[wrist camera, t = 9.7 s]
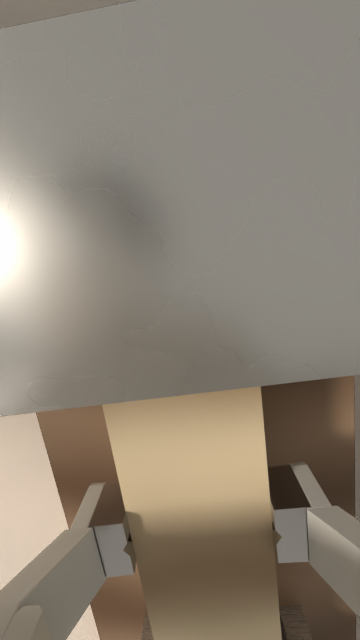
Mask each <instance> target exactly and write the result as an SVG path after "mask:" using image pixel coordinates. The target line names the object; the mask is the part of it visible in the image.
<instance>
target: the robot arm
mask: <svg viewBox="0 0 360 640" xmlns="http://www.w3.org/2000/svg"><path fill="white" fill-rule="evenodd" d="M267 468H268V480H269V492H270V508H271V518H272V528H273V531H272V532H273V542H274V550H275V554H276V557H277V560H278V563H292V562H309V564H310V565H311V566H312V567H313V568H314V569H315V570H316V571H317V572H318V573H319V575H320V576H321V577H322V578H323V579H324V580H325V581H326V582H327V583H328V584H329V585H330V587H331V588H332V589H333V590H334V591H335V592H336V593H337V594H338V595H339V596H340V597H341V598H342V600H343V601H344V602H345V603H346V604H347V605H348V606H349V607H350V608H351V609H352V610H353V612H354V613H355V614H356V615H357V616H358V617H359V618H360V521H359V520H358V519H356V518H355V517H353V516H352V515H350V514H349V513H347V512H346V511H344V510H343V509H341V508H340V507H338V506H332V505H331V504H330V502H329V500H328V499H327V497H326V495H325V494H324V492H323V490H322V489H321V487H320V485H319V484H318V482H317V480H316V479H315V477H314V475H313V474H312V472H311V470H310V469H309V467H308V465H307V464H306V463H305V462H299V463H291V464H284V465H275V466H267ZM136 562H137V559H136V555H135V550H134V545H133V542H132V539H131V534H130V527H129V523H128V519H127V515H126V511H125V507H124V503H123V498H122V493H121V489H120V484H119V481H109V482H101V483H92V484H91V485H90V486H89V487H88V490H87V492H86V494H85V496H84V499H83V501H82V503H81V505H80V508H79V510H78V512H77V514H76V517H75V519H74V521H73V523H72V526H71V528H70V529H69V530H65V531H64V532H62V533H61V534H60V535H59V536H58V537H57V538H56V539H55V540H54V541H53V542H52V543H51V544H50V545H49V546H47V547H46V548H45V549H44V550H43V551H42V552H41V553H40V554H39V555H38V556H37V557H36V558H35V559H34V560H33V561H31V562H30V563H29V564H28V565H27V566H26V567H25V568H24V569H23V570H22V571H21V572H20V573H19V574H18V575H16V576H15V577H14V578H13V579H12V580H11V581H10V582H9V583H8V584H7V585H6V586H5V587H4V588H3V589H2V590H0V640H66V639H67V637H68V636H69V634H70V633H71V631H72V630H73V628H74V627H75V625H76V624H77V622H78V621H79V619H80V618H81V616H82V615H83V613H84V612H85V610H86V609H87V607H88V606H89V604H90V603H91V601H92V600H93V598H94V597H95V595H96V594H97V592H98V591H99V589H100V588H101V586H102V585H103V583H104V582H105V580H106V578H107V577H116V576H125V575H133V574H134V573H135V567H136Z"/></svg>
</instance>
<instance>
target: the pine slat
mask: <svg viewBox="0 0 360 640" xmlns="http://www.w3.org/2000/svg"><path fill="white" fill-rule="evenodd" d="M102 407H103V412H104V416H105V421H106V425H107V430H108V434H109V439H110V443H111V448H112V453H113V457H114V462H115V466H116V471H117V475H118V480H119V484H120V489H121V493H122V498H123V503H124V507H125V511H126V515H127V519H128V523H129V527H130V534H131V539H132V542H133V545H134V550H135V555H136V559H137V566H138V571H139V575H140V580H141V584H142V589H143V593H144V598H145V602H146V607H147V612H148V616H149V621H150V625H151V630H152V634H153V639H154V640H282V636H281V624H280V612H279V600H278V588H277V576H276V564H275V552H274V542H273V532H272V531H273V528H272V518H271V508H270V492H269V480H268V468H267V456H266V444H265V432H264V420H263V408H262V396H261V386H258V387H250V388H241V389H233V390H224V391H215V392H207V393H198V394H190V395H181V396H172V397H164V398H155V399H147V400H138V401H129V402H121V403H112V404H104V405H102Z"/></svg>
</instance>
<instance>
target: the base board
mask: <svg viewBox="0 0 360 640" xmlns="http://www.w3.org/2000/svg"><path fill="white" fill-rule="evenodd" d="M261 396H262V408H263V420H264V432H265V444H266V456H267V466H275V465H284V464H291V463H299V462H305V463H306V464H307V465H308V467H309V469H310V470H311V472H312V474H313V475H314V477H315V479H316V480H317V482H318V484H319V485H320V487H321V489H322V490H323V492H324V494H325V495H326V497H327V499H328V500H329V502H330V504H331V505H332V506H338V507H340V508H341V509H343V510H344V511H346V512H347V513H349V514H350V515H352V516H353V517H355V427H354V375H353V376H344V377H336V378H327V379H319V380H310V381H301V382H293V383H284V384H276V385H267V386H261ZM36 415H37V418H38V422H39V425H40V429H41V432H42V436H43V439H44V443H45V446H46V450H47V453H48V457H49V460H50V464H51V467H52V471H53V474H54V478H55V482H56V485H57V489H58V492H59V496H60V499H61V503H62V506H63V510H64V513H65V517H66V520H67V524H68V527H69V529H70V528H71V526H72V523H73V521H74V519H75V517H76V514H77V512H78V510H79V508H80V505H81V503H82V501H83V499H84V496H85V494H86V492H87V490H88V487H89V486H90V485H91V484H92V483H101V482H109V481H119V480H118V475H117V471H116V466H115V462H114V457H113V453H112V448H111V443H110V439H109V434H108V430H107V425H106V421H105V416H104V412H103V407H102V405H95V406H87V407H78V408H69V409H61V410H52V411H44V412H36ZM274 552H275V550H274ZM275 564H276V576H277V588H278V600H279V606H290V605H301V606H302V610H303V613H304V616H305V619H306V622H307V625H308V628H309V631H310V634H311V637H312V640H356V614H355V613H354V612H353V610H352V609H351V608H350V607H349V606H348V605H347V604H346V603H345V602H344V601H343V600H342V598H341V597H340V596H339V595H338V594H337V593H336V592H335V591H334V590H333V589H332V588H331V587H330V585H329V584H328V583H327V582H326V581H325V580H324V579H323V578H322V577H321V576H320V575H319V573H318V572H317V571H316V570H315V569H314V568H313V567H312V566H311V565H310V564H309V562H292V563H278V560H277V557H276V554H275ZM90 605H91V609H92V612H93V616H94V619H95V623H96V626H97V630H98V633H99V637H100V640H141V637H142V629H143V621H144V615H148V612H147V607H146V602H145V598H144V593H143V589H142V584H141V580H140V575H139V571H138V566H137V562H136V567H135V573H134V574H133V575H125V576H116V577H107V578H106V580H105V582H104V583H103V585H102V586H101V588H100V589H99V591H98V592H97V594H96V595H95V597H94V598H93V600H92V601H91V603H90Z"/></svg>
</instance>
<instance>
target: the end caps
mask: <svg viewBox="0 0 360 640" xmlns="http://www.w3.org/2000/svg"><path fill="white" fill-rule="evenodd" d="M353 375H360V0H136V1H131V2H126V3H121V4H116V5H112V6H107V7H102V8H97V9H92V10H88V11H83V12H78V13H73V14H69V15H64V16H59V17H54V18H49V19H45V20H40V21H35V22H30V23H25V24H21V25H16V26H11V27H6V28H1V29H0V417H1V416H9V415H18V414H26V413H35V412H44V411H52V410H61V409H69V408H78V407H87V406H95V405H104V404H112V403H121V402H129V401H138V400H147V399H155V398H164V397H172V396H181V395H190V394H198V393H207V392H215V391H224V390H233V389H241V388H250V387H258V386H267V385H276V384H284V383H293V382H301V381H310V380H319V379H327V378H336V377H344V376H353ZM279 612H280V624H281V636H282V640H312V637H311V634H310V631H309V628H308V625H307V622H306V619H305V616H304V613H303V610H302V606H301V605H290V606H279ZM141 640H154V639H153V634H152V630H151V625H150V621H149V616H148V615H144V621H143V629H142V637H141Z"/></svg>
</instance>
